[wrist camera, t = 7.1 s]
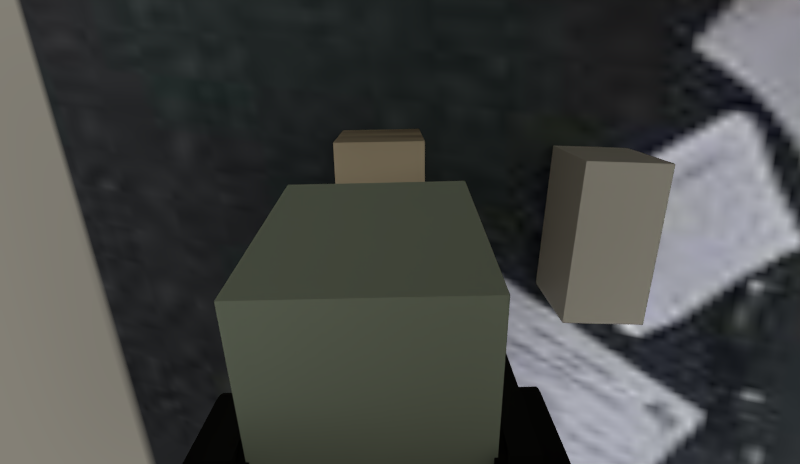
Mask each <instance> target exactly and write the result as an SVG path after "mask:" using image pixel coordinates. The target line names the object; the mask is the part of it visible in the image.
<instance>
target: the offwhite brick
mask: <svg viewBox="0 0 800 464" xmlns="http://www.w3.org/2000/svg"><path fill="white" fill-rule="evenodd" d="M674 169H675V164H674V163H671V162H668V161H665V160H662V159H659V158H656V157H653V156H650V155H647V154H644V153H641V152H638V151H635V150H632V149H629V148H614V147H584V146H554V145H553V152H552V160H551V168H550V176H549V183H548V191H547V199H546V207H545V215H544V223H543V231H542V239H541V246H540V254H539V262H538V270H537V278H536V284H537V285H538V287H539V288H540V290H541V291H542V293H543V294H544V296H545V297H546V299H547V300H548V302H549V303H550V305H551V306H552V308H553V309H554V311H555V312H556V314H557V315H558V317H559V318H560V319H561V321H562V322H563V323H597V324H636V325H643V321H644V317H645V312H646V307H647V302H648V297H649V292H650V287H651V282H652V277H653V272H654V267H655V262H656V257H657V252H658V247H659V243H660V238H661V233H662V228H663V223H664V218H665V213H666V208H667V203H668V198H669V193H670V188H671V183H672V178H673V173H674Z"/></svg>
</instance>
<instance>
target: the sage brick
mask: <svg viewBox="0 0 800 464" xmlns="http://www.w3.org/2000/svg"><path fill="white" fill-rule="evenodd" d="M509 303H510V293H509V291H508V288H507V286H506V283H505V281H504V278H503V276H502V273H501V271H500V268H499V266H498V263H497V261H496V258H495V256H494V253H493V251H492V248H491V245H490V243H489V240H488V238H487V235H486V233H485V230H484V228H483V225H482V223H481V220H480V218H479V215H478V213H477V210H476V208H475V205H474V203H473V200H472V198H471V195H470V192H469V190H468V187H467V185H466V182H465V181H437V182H393V183H349V184H305V185H287V187H286V189H285V190H284V192H283V193H282V195H281V196H280V198H279V200H278V201H277V203H276V204H275V206H274V207H273V209H272V211H271V212H270V214H269V215H268V217H267V219H266V220H265V222H264V223H263V225H262V226H261V228H260V230H259V231H258V233H257V234H256V236H255V237H254V239H253V241H252V242H251V244H250V245H249V247H248V249H247V250H246V252H245V253H244V255H243V256H242V258H241V260H240V261H239V263H238V264H237V266H236V267H235V269H234V271H233V272H232V274H231V275H230V277H229V278H228V280H227V282H226V283H225V285H224V286H223V288H222V290H221V291H220V293H219V294H218V296H217V297H216V299H215V301H214V304H215V309H216V314H217V319H218V324H219V329H220V334H221V339H222V344H223V349H224V355H225V360H226V365H227V370H228V375H229V380H230V385H231V390H232V395H233V400H234V405H235V410H236V415H237V420H238V425H239V431H240V436H241V441H242V446H243V451H244V456H245V461H246V462H249V464H494V458H497V457H498V450H499V436H500V423H501V410H502V396H503V383H504V370H505V356H506V343H507V330H508V317H509Z"/></svg>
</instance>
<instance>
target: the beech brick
mask: <svg viewBox="0 0 800 464" xmlns="http://www.w3.org/2000/svg"><path fill="white" fill-rule="evenodd" d="M333 149H334V167H335V184H349V183H393V182H425V141H424V138H423V136H422V134H421V132H420V130H419V129H390V130H343V131H342V133H341V134H340V135H339V136H338V137H337V139H336V140H335V141H334V142H333Z"/></svg>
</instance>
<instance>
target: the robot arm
mask: <svg viewBox="0 0 800 464" xmlns="http://www.w3.org/2000/svg"><path fill="white" fill-rule="evenodd" d="M183 464H249V462H246V461H245V456H244V451H243V446H242V441H241V436H240V431H239V425H238V420H237V415H236V410H235V405H234V400H233V395H232V393H223V394H221V395H220V396H219V397H218V399H217V401H216V402H215V404H214V406H213V408H212V410H211V412H210V414H209V415H208V417H207V419H206V421H205V423H204V425H203V427H202V429H201V430H200V432H199V434H198V436H197V438H196V440H195V442H194V443H193V445H192V447H191V449H190V451H189V453H188V455H187V457H186V458H185V460H184V462H183ZM494 464H571V463H570V461H569V458H568V456H567V454H566V451H565V449H564V447H563V444H562V442H561V440H560V437H559V435H558V433H557V430H556V428H555V425H554V423H553V421H552V418H551V416H550V414H549V411H548V409H547V407H546V404H545V402H544V400H543V397H542V395H541V393H540V391H539V389H538V388H537V387H518V385H517V382H516V379H515V377H514V374H513V371H512V368H511V366H510V363H509V360H508V357H507V355H506V356H505V370H504V383H503V396H502V410H501V423H500V436H499V450H498V457H497V458H494Z"/></svg>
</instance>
